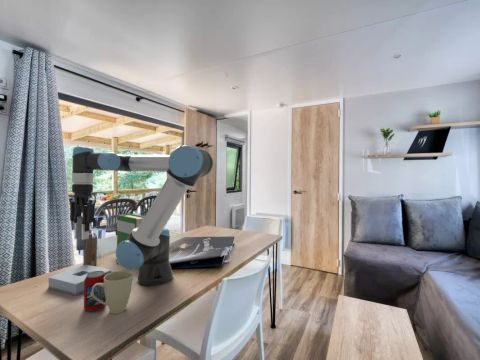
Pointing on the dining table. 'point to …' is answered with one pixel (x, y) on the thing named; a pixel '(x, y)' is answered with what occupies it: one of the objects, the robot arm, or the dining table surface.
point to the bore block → (73, 279)
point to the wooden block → (90, 251)
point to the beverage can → (99, 292)
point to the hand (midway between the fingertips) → (81, 238)
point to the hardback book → (127, 225)
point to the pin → (80, 235)
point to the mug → (116, 290)
